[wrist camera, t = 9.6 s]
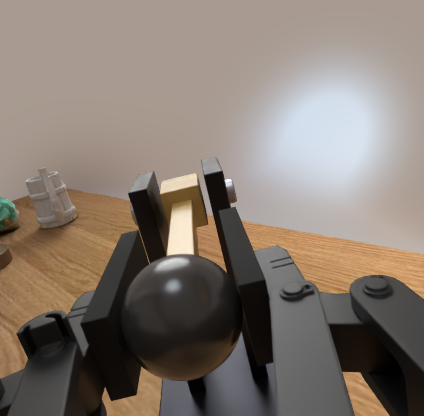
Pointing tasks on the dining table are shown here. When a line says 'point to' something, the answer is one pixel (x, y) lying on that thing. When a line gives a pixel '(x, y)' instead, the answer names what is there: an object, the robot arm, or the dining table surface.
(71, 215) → the mug
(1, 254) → the lamp
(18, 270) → the dining table surface
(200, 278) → the lamp switch
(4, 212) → the scepter
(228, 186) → the switch bracket
